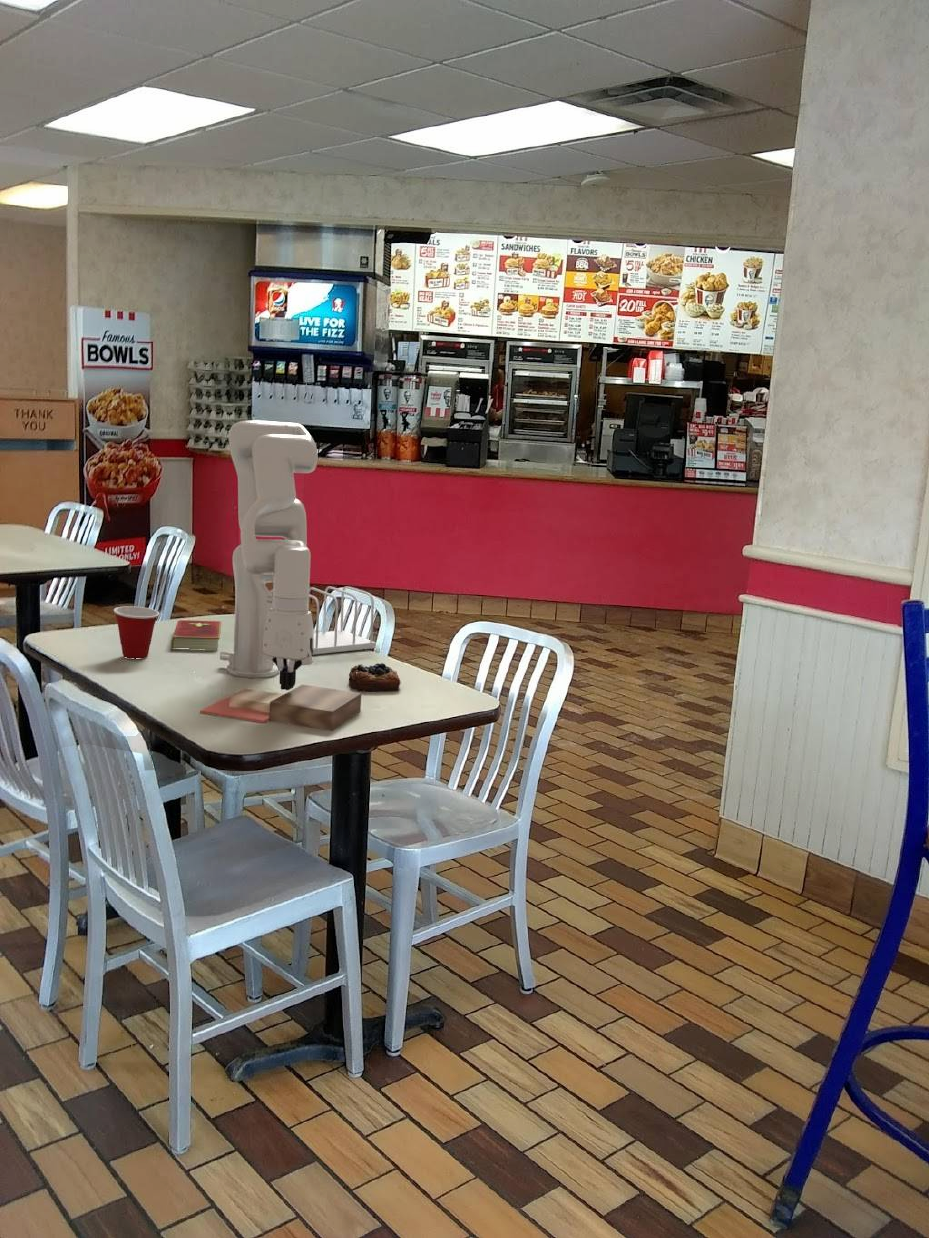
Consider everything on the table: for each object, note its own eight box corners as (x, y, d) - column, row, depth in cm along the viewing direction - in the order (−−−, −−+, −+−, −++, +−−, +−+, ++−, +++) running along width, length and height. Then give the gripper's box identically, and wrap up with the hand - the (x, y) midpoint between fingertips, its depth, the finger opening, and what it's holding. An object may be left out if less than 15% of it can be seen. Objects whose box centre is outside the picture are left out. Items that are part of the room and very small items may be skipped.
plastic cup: (147, 664, 259) (147, 615, 257) (105, 659, 261) (105, 611, 259) (166, 654, 270) (167, 608, 268) (126, 650, 272) (126, 604, 269)
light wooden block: (229, 706, 228) (229, 697, 227) (246, 697, 235) (246, 688, 235) (276, 713, 225) (277, 704, 225) (292, 704, 233) (292, 695, 232)
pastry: (344, 681, 258) (345, 657, 257) (392, 680, 262) (393, 657, 261) (354, 693, 248) (355, 669, 246) (404, 692, 252) (405, 668, 250)
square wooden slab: (269, 720, 222) (269, 701, 221) (301, 701, 237) (302, 684, 236) (331, 730, 218) (332, 711, 217) (360, 710, 233) (361, 693, 233)
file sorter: (342, 636, 306) (345, 582, 303) (376, 649, 292) (379, 593, 289) (263, 643, 290) (265, 587, 287) (295, 658, 277) (297, 598, 274)
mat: (200, 712, 224) (200, 710, 224) (244, 690, 243) (245, 688, 243) (264, 722, 220) (264, 720, 220) (304, 699, 239) (305, 697, 239)
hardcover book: (171, 651, 276) (171, 635, 275) (176, 633, 296) (177, 618, 295) (219, 652, 278) (219, 636, 277) (221, 635, 298) (221, 620, 297)
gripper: (250, 603, 223) (247, 687, 227) (316, 611, 219) (312, 697, 223) (266, 597, 230) (263, 679, 234) (330, 605, 227) (326, 689, 230)
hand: (287, 688), depth 228 cm, fingers closed
